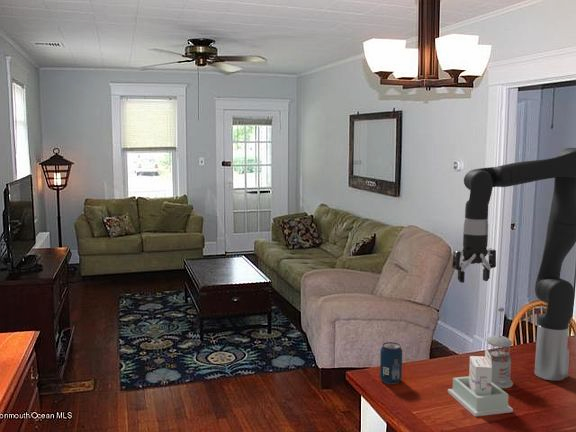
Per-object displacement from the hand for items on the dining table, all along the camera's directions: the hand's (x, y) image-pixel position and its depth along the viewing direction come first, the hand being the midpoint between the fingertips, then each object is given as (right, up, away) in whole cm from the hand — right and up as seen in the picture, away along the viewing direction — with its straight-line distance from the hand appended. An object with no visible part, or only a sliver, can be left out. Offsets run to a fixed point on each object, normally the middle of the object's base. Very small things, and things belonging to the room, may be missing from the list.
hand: (473, 281), depth 189 cm
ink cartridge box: (-3, -34, -14) cm, 37 cm away
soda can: (-27, -33, +1) cm, 42 cm away
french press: (+8, -33, 0) cm, 34 cm away
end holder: (-3, -35, -14) cm, 37 cm away
